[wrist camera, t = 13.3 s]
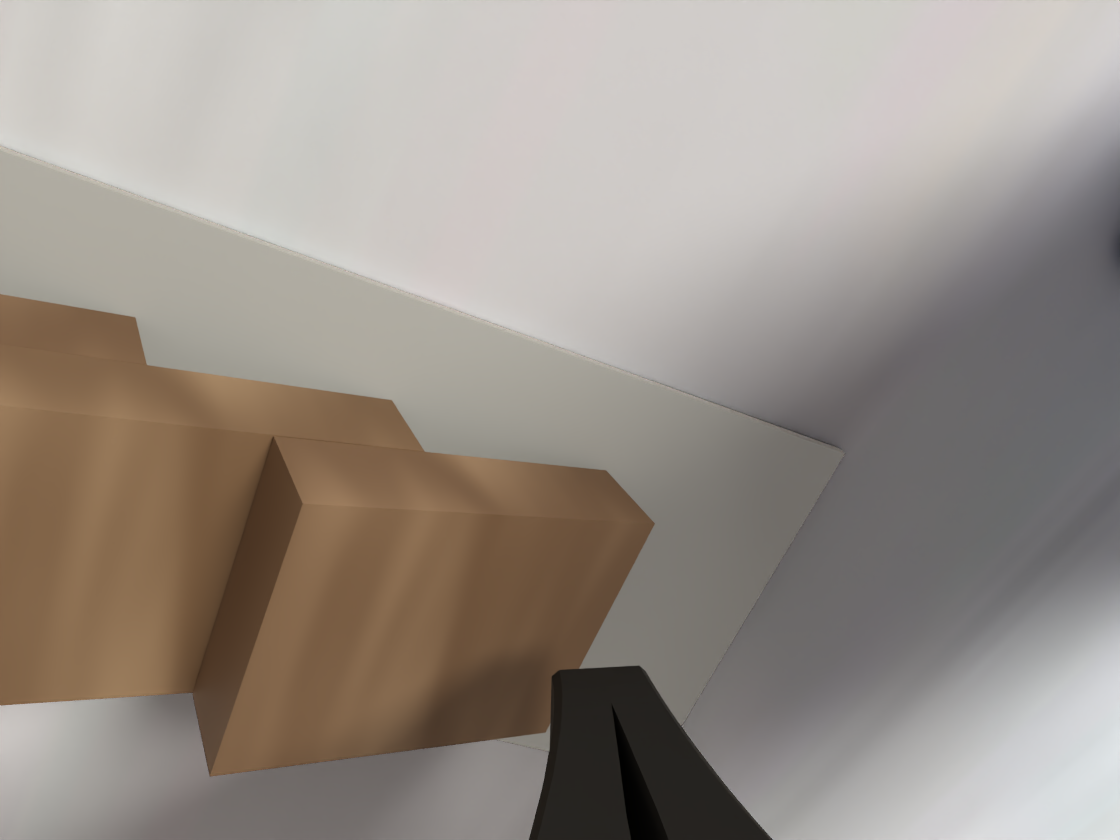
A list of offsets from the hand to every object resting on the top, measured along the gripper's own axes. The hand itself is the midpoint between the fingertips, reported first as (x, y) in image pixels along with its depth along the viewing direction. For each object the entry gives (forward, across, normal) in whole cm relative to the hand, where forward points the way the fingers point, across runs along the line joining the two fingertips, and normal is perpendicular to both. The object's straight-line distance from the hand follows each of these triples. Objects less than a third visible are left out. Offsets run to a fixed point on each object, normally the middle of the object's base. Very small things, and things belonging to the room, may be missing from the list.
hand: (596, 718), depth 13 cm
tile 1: (+3, 0, 0) cm, 3 cm away
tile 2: (+3, +4, -1) cm, 5 cm away
